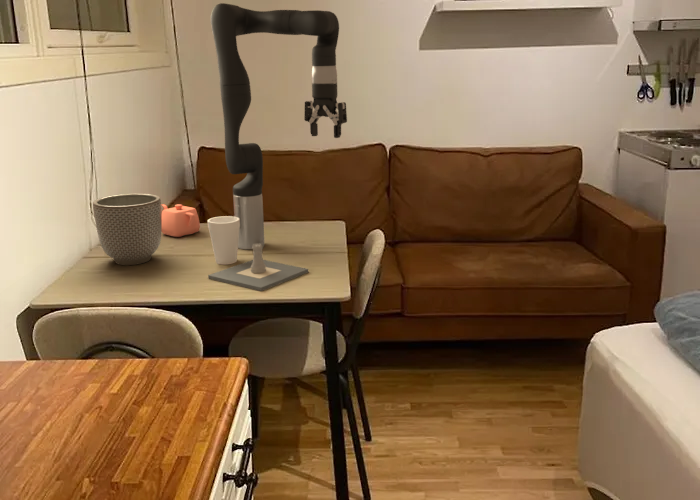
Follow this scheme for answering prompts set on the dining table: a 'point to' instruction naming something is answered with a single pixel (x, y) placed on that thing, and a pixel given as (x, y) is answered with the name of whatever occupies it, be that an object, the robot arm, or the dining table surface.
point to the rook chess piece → (258, 259)
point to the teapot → (179, 220)
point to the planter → (129, 226)
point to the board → (258, 275)
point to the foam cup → (224, 238)
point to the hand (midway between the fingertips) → (325, 136)
